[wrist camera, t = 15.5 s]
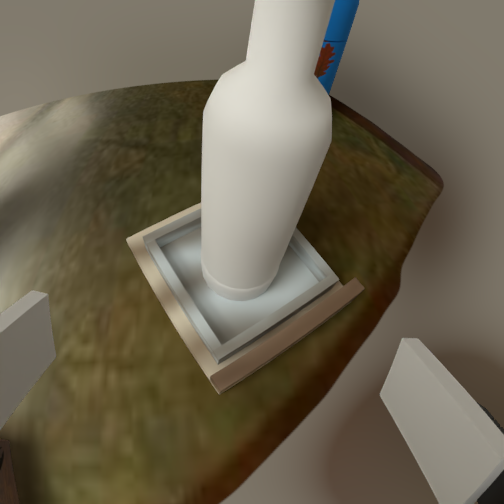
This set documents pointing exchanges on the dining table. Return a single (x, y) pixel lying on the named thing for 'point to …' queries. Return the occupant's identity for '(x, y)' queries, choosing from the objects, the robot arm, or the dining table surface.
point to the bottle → (263, 147)
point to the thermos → (335, 41)
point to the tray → (236, 312)
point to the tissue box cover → (7, 476)
